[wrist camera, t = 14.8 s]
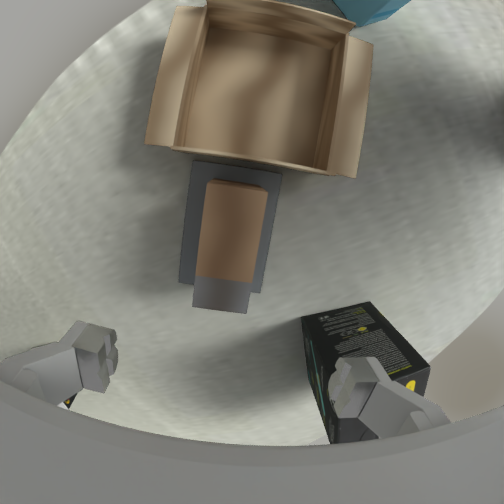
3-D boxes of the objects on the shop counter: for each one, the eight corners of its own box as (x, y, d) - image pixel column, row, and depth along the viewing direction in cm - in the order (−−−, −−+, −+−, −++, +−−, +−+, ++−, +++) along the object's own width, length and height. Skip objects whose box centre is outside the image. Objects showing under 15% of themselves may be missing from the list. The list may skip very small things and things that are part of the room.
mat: (281, 174, 29) (282, 174, 29) (259, 291, 33) (260, 293, 33) (193, 160, 28) (192, 160, 28) (179, 280, 32) (178, 282, 32)
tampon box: (369, 364, 38) (414, 437, 24) (307, 381, 38) (335, 465, 24) (371, 297, 34) (435, 366, 20) (300, 314, 34) (338, 401, 20)
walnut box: (258, 184, 29) (268, 192, 22) (242, 278, 32) (246, 313, 24) (213, 177, 29) (207, 182, 21) (200, 272, 31) (192, 306, 24)
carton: (354, 56, 26) (385, 33, 19) (336, 178, 30) (366, 184, 23) (184, 24, 24) (173, -9, 17) (157, 149, 28) (134, 146, 21)
